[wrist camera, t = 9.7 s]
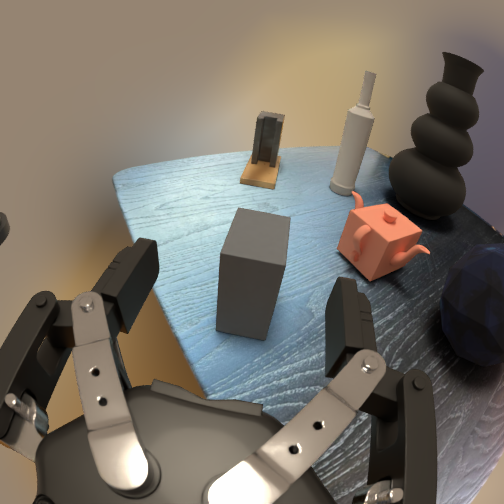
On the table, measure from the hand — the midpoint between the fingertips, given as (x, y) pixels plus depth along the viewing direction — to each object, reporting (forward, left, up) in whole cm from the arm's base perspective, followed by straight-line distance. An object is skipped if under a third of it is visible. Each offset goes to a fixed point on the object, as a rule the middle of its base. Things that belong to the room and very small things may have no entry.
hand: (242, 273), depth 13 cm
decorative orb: (+26, +17, -16) cm, 35 cm away
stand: (-13, +46, -16) cm, 50 cm away
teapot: (+11, +27, -16) cm, 33 cm away
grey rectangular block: (-2, +11, -16) cm, 19 cm away
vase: (+22, +53, -16) cm, 59 cm away
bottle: (+4, +48, -16) cm, 51 cm away
